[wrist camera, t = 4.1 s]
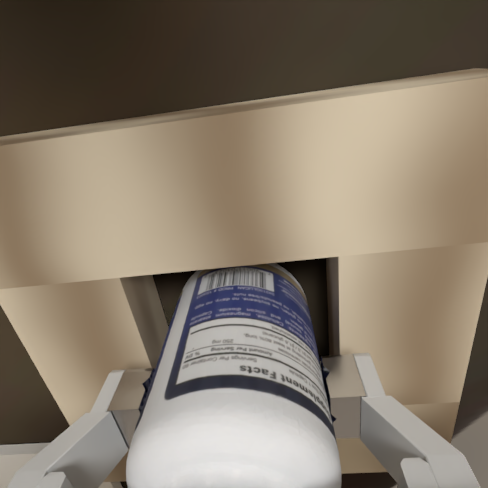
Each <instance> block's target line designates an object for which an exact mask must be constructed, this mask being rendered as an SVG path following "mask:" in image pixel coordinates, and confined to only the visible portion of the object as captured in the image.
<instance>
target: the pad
mask: <svg viewBox="0 0 488 488" xmlns="http://www.w3.org/2000/svg"><path fill="white" fill-rule="evenodd" d="M49 444H50V443H34V444H13V445H0V488H7V487H8V485H9V483H10V482H11V480H12V478H13V477H14V475H15V473H16V472H17V471H18V470H19V469H20V468H22V467H23V466H24V465H25V464H26V463H27V462H29V461H30V460H31V459H32V458H33V457H34V456H36V455H37V454H38V453H39V452H40V451H42V450H43V449H44V448H45V447H46V446H47V445H49ZM98 488H123V487H122V485H121V483H120V481H119V482H103V483H102V484H101V485H100V486H99V487H98Z"/></svg>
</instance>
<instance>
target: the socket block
mask: <svg viewBox="0 0 488 488" xmlns="http://www.w3.org/2000/svg"><path fill="white" fill-rule="evenodd" d="M319 258H326V272H327V303H328V334H329V356H330V355H342V354H356V353H369V354H370V355H371V358H372V360H373V363H374V366H375V368H376V371H377V373H378V376H379V379H380V381H381V384H382V387H383V389H384V392H385V394H386V396H392V397H393V398H395V399H396V400H397V401H398V402H400V403H401V404H402V405H403V406H404V407H406V408H407V409H408V410H409V411H411V412H412V413H413V414H414V415H416V416H417V417H418V418H419V419H420V420H422V421H423V422H424V423H425V424H427V425H428V426H429V427H430V428H431V429H433V430H434V431H435V432H436V433H438V434H439V435H440V436H441V437H442V438H444V439H445V440H446V441H447V442H449V443H451V439H452V434H453V430H454V425H455V421H456V416H457V412H458V407H459V403H460V398H461V394H462V389H463V385H464V380H465V376H466V371H467V367H468V362H469V358H470V353H471V349H472V344H473V340H474V335H475V331H476V326H477V322H478V317H479V313H480V308H481V304H482V299H483V295H484V290H485V286H486V281H487V277H488V69H475V68H474V69H467V70H460V71H453V72H447V73H440V74H433V75H426V76H419V77H412V78H405V79H398V80H391V81H384V82H377V83H370V84H363V85H356V86H349V87H342V88H336V89H329V90H322V91H315V92H308V93H301V94H294V95H287V96H280V97H273V98H266V99H259V100H252V101H245V102H238V103H231V104H225V105H218V106H211V107H204V108H197V109H190V110H183V111H176V112H169V113H162V114H155V115H148V116H141V117H134V118H127V119H120V120H114V121H107V122H100V123H93V124H86V125H79V126H72V127H65V128H58V129H51V130H44V131H37V132H30V133H23V134H16V135H9V136H3V137H0V305H1V307H2V308H3V310H4V312H5V313H6V315H7V317H8V319H9V320H10V322H11V324H12V326H13V327H14V329H15V331H16V333H17V334H18V336H19V338H20V340H21V341H22V343H23V345H24V347H25V348H26V350H27V352H28V354H29V355H30V357H31V359H32V361H33V362H34V364H35V366H36V367H37V369H38V371H39V373H40V374H41V376H42V378H43V380H44V381H45V383H46V385H47V387H48V388H49V390H50V392H51V394H52V395H53V397H54V399H55V401H56V402H57V404H58V406H59V408H60V409H61V411H62V413H63V415H64V416H65V418H66V420H67V421H68V423H69V425H70V426H71V425H72V424H73V423H74V422H76V421H77V420H78V419H79V418H80V417H81V416H83V415H84V414H85V413H90V411H91V409H92V407H93V405H94V403H95V401H96V399H97V397H98V395H99V393H100V391H101V389H102V387H103V385H104V383H105V381H106V379H107V376H108V374H109V373H110V372H111V371H112V370H126V369H144V368H156V365H157V362H158V359H159V356H160V353H161V350H162V347H163V344H164V341H165V338H166V335H167V332H168V329H169V327H168V324H167V321H166V318H165V314H164V311H163V308H162V305H161V301H160V298H159V295H158V292H157V288H156V285H155V282H154V279H153V274H164V273H174V272H184V271H195V270H205V269H215V268H226V267H236V266H246V265H257V264H267V263H277V262H288V261H298V260H308V259H319ZM320 364H321V361H320ZM321 369H322V368H321ZM336 442H337V447H338V451H339V459H340V464H341V474H345V473H373V472H388V471H387V470H386V469H385V468H384V467H383V466H382V464H381V463H380V462H379V461H378V460H377V459H376V457H375V456H374V455H373V454H372V453H371V451H370V450H369V449H368V448H367V447H366V446H365V444H364V443H363V442H362V441H361V440H360V438H336ZM128 452H129V450H128ZM128 452H127V453H126V454H125V455H124V457H123V458H122V459H121V460H120V462H119V463H118V464H117V465H116V467H115V468H114V469H113V470H112V471H111V473H110V474H109V475H108V476H107V478H106V479H105V480H104V481H103V482H119V481H126V462H127V457H128Z"/></svg>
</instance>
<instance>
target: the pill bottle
mask: <svg viewBox="0 0 488 488" xmlns="http://www.w3.org/2000/svg"><path fill="white" fill-rule="evenodd" d="M126 481H127V486H128V488H341V464H340V459H339V451H338V447H337V442H336V437H335V432H334V427H333V422H332V417H331V412H330V407H329V403H328V398H327V394H326V389H325V384H324V379H323V374H322V369H321V364H320V359H319V355H318V351H317V346H316V341H315V336H314V331H313V326H312V321H311V317H310V312H309V307H308V303H307V299H306V296H305V294H304V291H303V289H302V287H301V286H300V284H299V283H298V281H297V280H296V279H295V278H294V276H293V275H292V274H291V273H289V272H288V271H287V270H286V269H284V268H283V267H281V266H280V265H278V264H276V263H267V264H257V265H246V266H236V267H226V268H215V269H205V270H197V271H196V272H195V273H194V274H193V275H192V276H191V277H190V278H189V279H188V281H187V282H186V284H185V286H184V288H183V290H182V292H181V294H180V296H179V299H178V302H177V305H176V308H175V311H174V314H173V317H172V319H171V322H170V325H169V329H168V332H167V335H166V338H165V341H164V344H163V347H162V350H161V353H160V356H159V359H158V362H157V365H156V368H155V371H154V374H153V377H152V380H151V383H150V386H149V389H148V392H147V395H146V398H145V401H144V404H143V407H142V410H141V413H140V416H139V419H138V421H137V424H136V427H135V431H134V435H133V438H132V441H131V445H130V449H129V452H128V457H127V462H126Z"/></svg>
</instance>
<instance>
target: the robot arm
mask: <svg viewBox="0 0 488 488" xmlns="http://www.w3.org/2000/svg"><path fill="white" fill-rule="evenodd" d="M321 368H322V374H323V379H324V384H325V389H326V394H327V398H328V403H329V407H330V412H331V417H332V422H333V427H334V432H335V437H336V438H360V440H361V441H362V442H363V443H364V444H365V446H366V447H367V448H368V449H369V450H370V451H371V453H372V454H373V455H374V456H375V457H376V459H377V460H378V461H379V462H380V463H381V464H382V466H383V467H384V468H385V469H386V470H387V471H388V473H389V474H390V475H391V476H392V477H393V479H394V480H395V481H396V482H397V483H398V486H397V488H481V487H480V485H479V483H478V482H477V480H476V478H475V476H474V474H473V472H472V470H471V468H470V466H469V464H468V462H467V460H466V458H465V456H464V455H463V454H462V453H461V452H460V451H458V450H457V449H456V448H455V447H454V446H452V445H451V444H450V443H449V442H447V441H446V440H445V439H444V438H442V437H441V436H440V435H439V434H438V433H436V432H435V431H434V430H433V429H431V428H430V427H429V426H428V425H427V424H425V423H424V422H423V421H422V420H420V419H419V418H418V417H417V416H416V415H414V414H413V413H412V412H411V411H409V410H408V409H407V408H406V407H404V406H403V405H402V404H401V403H400V402H398V401H397V400H396V399H395V398H393V397H392V396H386V394H385V392H384V389H383V387H382V384H381V381H380V379H379V376H378V373H377V371H376V368H375V366H374V363H373V360H372V358H371V355H370V354H369V353H356V354H342V355H330V356H321ZM154 371H155V368H144V369H126V370H112V371H111V372H110V373H109V374H108V376H107V379H106V381H105V383H104V385H103V387H102V389H101V391H100V393H99V395H98V397H97V399H96V401H95V403H94V405H93V407H92V409H91V411H90V413H85V414H84V415H83V416H81V417H80V418H79V419H78V420H77V421H76V422H74V423H73V424H72V425H71V426H70V427H69V428H67V429H66V430H65V431H64V432H63V433H61V434H60V435H59V436H58V437H57V438H56V439H54V440H53V441H52V442H51V443H50V444H49V445H47V446H46V447H45V448H44V449H43V450H42V451H40V452H39V453H38V454H37V455H36V456H34V457H33V458H32V459H31V460H30V461H29V462H27V463H26V464H25V465H24V466H23V467H22V468H20V469H19V470H18V471H17V472H16V473H15V475H14V477H13V478H12V480H11V482H10V483H9V485H8V487H7V488H98V487H99V486H100V485H101V484H102V483H103V481H104V480H105V479H106V478H107V476H108V475H109V474H110V473H111V471H112V470H113V469H114V468H115V467H116V465H117V464H118V463H119V462H120V460H121V459H122V458H123V457H124V455H125V454H126V453H127V452H128V450H129V449H130V445H131V441H132V438H133V435H134V431H135V427H136V424H137V421H138V419H139V416H140V413H141V410H142V407H143V404H144V401H145V398H146V395H147V392H148V389H149V386H150V383H151V380H152V377H153V374H154Z"/></svg>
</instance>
